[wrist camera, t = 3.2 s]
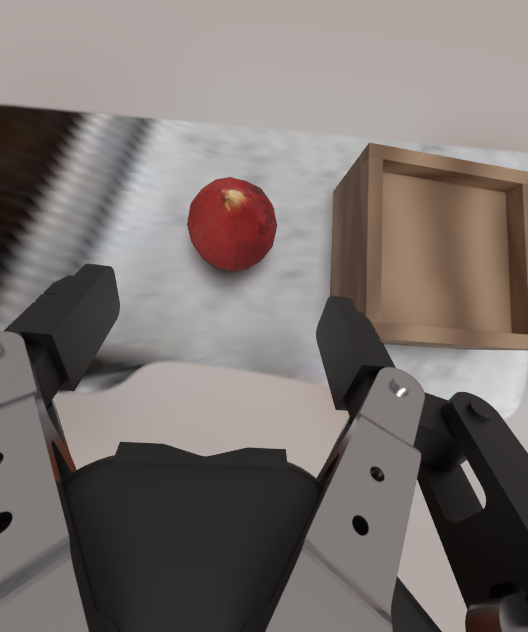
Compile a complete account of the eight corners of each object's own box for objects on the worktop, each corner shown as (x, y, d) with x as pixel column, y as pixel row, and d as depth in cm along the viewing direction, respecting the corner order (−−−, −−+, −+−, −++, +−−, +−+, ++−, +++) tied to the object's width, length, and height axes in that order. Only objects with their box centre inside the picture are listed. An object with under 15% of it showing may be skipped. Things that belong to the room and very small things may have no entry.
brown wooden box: (327, 339, 23) (365, 337, 17) (332, 193, 25) (369, 142, 18) (464, 349, 25) (543, 350, 19) (461, 212, 26) (533, 173, 20)
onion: (240, 199, 23) (250, 122, 15) (280, 256, 23) (311, 209, 15) (179, 235, 22) (155, 172, 14) (221, 295, 22) (222, 266, 14)
